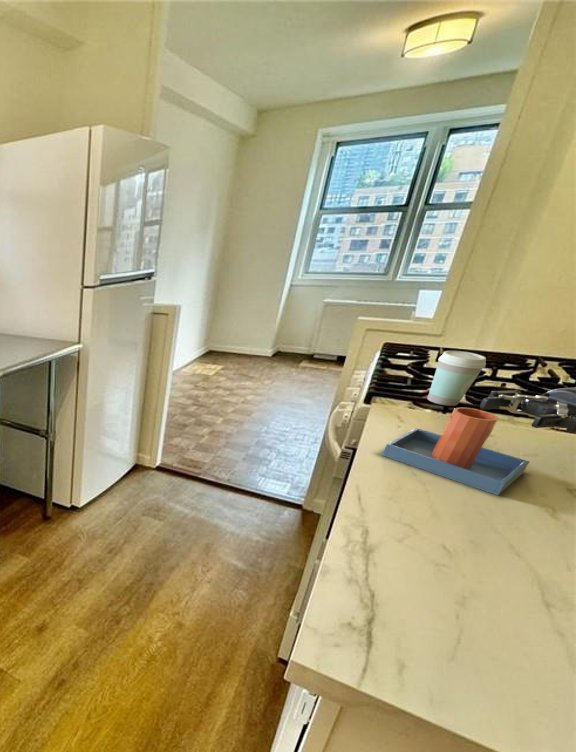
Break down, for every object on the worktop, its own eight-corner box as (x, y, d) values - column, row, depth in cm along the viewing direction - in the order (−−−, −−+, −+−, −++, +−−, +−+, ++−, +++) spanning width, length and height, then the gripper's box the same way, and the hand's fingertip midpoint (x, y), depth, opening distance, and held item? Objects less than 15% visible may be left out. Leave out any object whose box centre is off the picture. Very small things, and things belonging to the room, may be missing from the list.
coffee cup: (459, 410, 116) (484, 362, 110) (415, 400, 122) (436, 353, 116) (469, 403, 120) (493, 356, 115) (426, 392, 126) (447, 348, 121)
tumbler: (476, 463, 92) (503, 415, 87) (464, 472, 89) (492, 423, 84) (437, 451, 96) (461, 405, 92) (425, 459, 93) (449, 411, 89)
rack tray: (522, 473, 90) (530, 461, 89) (497, 495, 83) (505, 483, 82) (411, 438, 103) (416, 427, 101) (381, 455, 96) (386, 444, 95)
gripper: (544, 376, 96) (477, 380, 93) (643, 402, 83) (568, 408, 81) (524, 410, 99) (458, 415, 97) (616, 441, 87) (543, 448, 84)
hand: (508, 412), depth 89 cm, fingers open, 8 cm apart
